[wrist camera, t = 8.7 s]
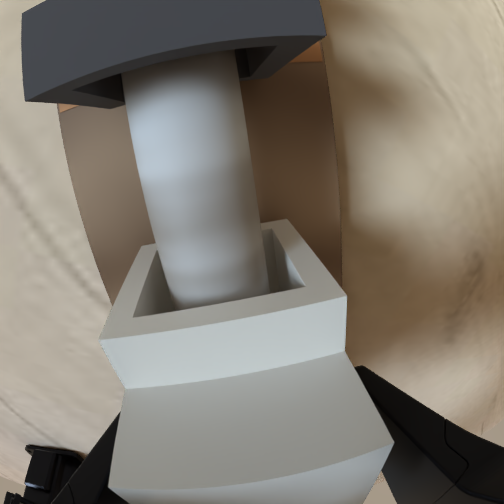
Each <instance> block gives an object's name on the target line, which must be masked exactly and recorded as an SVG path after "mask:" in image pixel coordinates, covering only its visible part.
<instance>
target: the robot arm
mask: <svg viewBox="0 0 504 504" xmlns="http://www.w3.org/2000/svg"><path fill="white" fill-rule="evenodd" d="M354 368H355V370H356V372H357V374H358V376H359V377H360V379H361V381H362V383H363V385H364V387H365V388H366V390H367V392H368V394H369V396H370V398H371V400H372V401H373V403H374V405H375V407H376V409H377V411H378V413H379V414H380V416H381V418H382V420H383V422H384V424H385V426H386V428H387V429H388V431H389V433H390V435H391V437H392V439H393V441H394V444H393V447H392V449H391V451H390V453H389V455H388V457H387V459H386V461H385V463H384V465H383V467H382V469H381V471H382V473H383V475H384V477H385V479H386V481H387V483H388V485H389V487H390V489H391V492H392V493H393V496H394V498H395V500H396V502H397V504H504V447H501V446H499V445H497V444H495V443H492V442H490V441H488V440H485V439H483V438H480V437H478V436H476V435H474V434H472V433H470V432H468V431H466V430H464V429H463V428H461V427H459V426H457V425H456V424H454V423H452V422H451V421H449V420H447V419H445V418H444V417H442V416H441V415H439V414H438V413H436V412H434V411H433V410H431V409H430V408H428V407H426V406H425V405H423V404H422V403H420V402H419V401H417V400H415V399H414V398H412V397H411V396H409V395H408V394H406V393H404V392H403V391H401V390H400V389H398V388H397V387H395V386H394V385H392V384H391V383H389V382H388V381H386V380H384V379H383V378H381V377H380V376H378V375H377V374H375V373H374V372H372V371H371V370H369V369H368V368H366V367H365V366H362V365H360V366H357V367H354ZM120 413H121V411H120ZM120 413H119V414H118V415H117V417H116V418H115V419H114V421H113V422H112V423H111V425H110V426H109V427H108V429H107V430H106V431H105V433H104V434H103V435H102V437H101V438H100V439H99V441H98V442H97V443H96V445H95V446H94V447H93V449H92V450H91V451H90V453H89V454H88V455H87V457H86V458H85V460H83V459H82V458H81V457H80V456H79V455H78V454H76V453H74V452H70V451H62V450H54V449H47V448H40V447H34V446H29V445H26V447H25V450H26V451H27V452H28V453H29V454H30V455H31V456H32V458H31V461H30V464H29V468H28V471H27V475H26V478H25V485H26V488H25V492H24V496H23V497H21V495H19V494H17V493H15V494H13V493H10V492H7V493H6V496H5V501H4V504H130V503H128V502H127V501H125V500H124V499H123V498H121V497H120V496H119V495H117V494H116V493H115V492H114V491H112V490H111V489H110V488H108V484H109V477H110V470H111V463H112V457H113V451H114V445H115V439H116V434H117V428H118V423H119V418H120Z"/></svg>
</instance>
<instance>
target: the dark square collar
mask: <svg viewBox="0 0 504 504" xmlns="http://www.w3.org/2000/svg"><path fill="white" fill-rule="evenodd" d="M325 36H327V35H326V30H325V25H324V20H323V15H322V11H321V6H320V2H319V0H46V1H44V2H42V3H40V4H38V5H36V6H35V7H33V8H31V9H29V10H27V11H26V12H24V13H22V31H21V47H22V72H23V86H24V96H25V101H26V102H44V103H58V104H70V105H80V106H89V107H97V108H105V109H113V108H116V107H120V106H123V105H126V103H125V97H124V90H123V83H122V76H121V73H123V72H126V71H129V70H133V69H137V68H140V67H144V66H148V65H152V64H156V63H160V62H164V61H169V60H173V59H178V58H183V57H188V56H193V55H199V54H205V53H211V52H218V51H225V50H233V49H235V50H234V51H235V57H236V63H237V70H238V76H239V81H246V80H255V79H264V78H269V77H270V76H272V75H273V74H274V73H276V72H277V71H278V70H280V69H281V68H282V67H283V66H285V65H286V64H287V63H289V62H290V61H291V60H293V59H294V58H295V57H297V56H298V55H300V54H301V53H302V52H304V51H305V50H307V49H308V48H309V47H311V46H312V45H314V44H315V43H317V42H318V41H319V40H321V39H322V38H324V37H325Z"/></svg>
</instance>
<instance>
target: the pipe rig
mask: <svg viewBox="0 0 504 504" xmlns="http://www.w3.org/2000/svg"><path fill="white" fill-rule="evenodd" d="M234 50H235V49H233V50H225V51H218V52H211V53H205V54H199V55H193V56H188V57H183V58H178V59H173V60H169V61H164V62H160V63H156V64H152V65H148V66H144V67H140V68H137V69H133V70H129V71H126V72H123V73H121V76H122V83H123V90H124V97H125V103H126V105H123V106H120V107H116V108H113V109H105V108H97V107H89V106H80V105H70V104H58V103H57V108H58V114H59V121H60V127H61V133H62V138H63V143H64V149H65V153H66V158H67V163H68V167H69V172H70V176H71V180H72V184H73V188H74V192H75V196H76V200H77V204H78V207H79V211H80V214H81V218H82V221H83V224H84V228H85V231H86V234H87V237H88V240H89V244H90V247H91V250H92V253H93V255H94V258H95V261H96V264H97V267H98V270H99V272H100V275H101V278H102V280H103V283H104V286H105V288H106V291H107V293H108V296H109V298H110V301H111V303H112V306H113V305H114V303H115V300H116V298H117V296H118V294H119V292H120V289H121V287H122V285H123V283H124V281H125V279H126V277H127V275H128V272H129V270H130V268H131V266H132V264H133V262H134V260H135V258H136V256H137V254H138V252H139V250H140V248H141V246H145V245H149V244H154V243H156V246H157V249H158V253H159V256H160V260H161V263H162V267H163V270H164V274H165V277H166V280H167V284H168V287H169V290H170V293H171V297H172V300H173V303H174V306H175V309H176V311H180V310H186V309H192V308H197V307H203V306H209V305H214V304H220V303H225V302H231V301H236V300H242V299H247V298H252V297H257V296H262V295H267V294H270V289H269V281H268V274H267V267H266V259H265V252H264V245H263V238H262V231H261V224H260V223H265V222H271V221H277V220H283V219H288V221H289V222H290V223H291V224H292V226H293V227H294V228H295V229H296V231H297V232H298V233H299V234H300V236H301V237H302V238H303V239H304V241H305V242H306V243H307V244H308V246H309V247H310V248H311V249H312V251H313V252H314V253H315V255H316V256H317V257H318V258H319V260H320V261H321V262H322V264H323V265H324V266H325V267H326V269H327V270H328V271H329V273H330V274H331V275H332V277H333V278H334V279H335V281H336V282H337V283H338V284H339V286H340V287H341V288H342V249H341V219H340V199H339V183H338V169H337V157H336V146H335V136H334V127H333V118H332V110H331V102H330V94H329V87H328V80H327V74H326V67H325V61H324V55H323V49H322V44H321V40H319V41H318V42H317V43H315V44H314V45H312V46H311V47H309V48H308V49H307V50H305V51H304V52H302V53H301V54H300V55H298V56H297V57H295V58H294V59H293V60H291V61H290V62H289V63H287V64H286V65H285V66H283V67H282V68H281V69H280V70H278V71H277V72H276V73H274V74H273V75H272V76H270V77H269V78H264V79H255V80H246V81H239V76H238V70H237V63H236V57H235V51H234Z"/></svg>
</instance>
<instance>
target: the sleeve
mask: <svg viewBox="0 0 504 504" xmlns="http://www.w3.org/2000/svg"><path fill="white" fill-rule="evenodd" d="M260 224H261V231H262V238H263V245H264V252H265V259H266V267H267V274H268V281H269V289H270V294H267V295H262V296H257V297H252V298H247V299H242V300H236V301H231V302H225V303H220V304H214V305H209V306H203V307H197V308H192V309H186V310H180V311H176V309H175V306H174V303H173V300H172V297H171V293H170V290H169V287H168V284H167V280H166V277H165V274H164V270H163V267H162V263H161V260H160V256H159V253H158V249H157V246H156V243H154V244H149V245H145V246H141V248H140V250H139V252H138V254H137V256H136V258H135V260H134V262H133V264H132V266H131V268H130V270H129V272H128V275H127V277H126V279H125V281H124V283H123V285H122V287H121V289H120V292H119V294H118V296H117V298H116V300H115V303H114V305H113V307H112V309H111V312H110V314H109V316H108V318H107V321H106V323H105V325H104V328H103V330H102V333H101V335H100V337H99V342H100V344H101V346H102V348H103V350H104V352H105V354H106V356H107V357H108V359H109V361H110V363H111V365H112V367H113V368H114V370H115V372H116V374H117V375H118V377H119V379H120V381H121V382H122V384H123V386H124V387H125V394H124V398H123V403H122V408H121V413H120V418H119V423H118V428H117V434H116V439H115V445H114V451H113V457H112V463H111V470H110V477H109V484H108V488H110V489H111V490H112V491H114V492H115V493H116V494H117V495H119V496H120V497H121V498H123V499H124V500H125V501H127V502H128V503H130V504H363V502H364V501H365V499H366V497H367V495H368V494H369V492H370V490H371V488H372V487H373V485H374V483H375V481H376V479H377V477H378V475H379V473H380V471H381V469H382V467H383V465H384V463H385V461H386V459H387V457H388V455H389V453H390V451H391V449H392V447H393V444H394V441H393V439H392V437H391V435H390V433H389V431H388V429H387V428H386V426H385V424H384V422H383V420H382V418H381V416H380V414H379V413H378V411H377V409H376V407H375V405H374V403H373V401H372V400H371V398H370V396H369V394H368V392H367V390H366V388H365V387H364V385H363V383H362V381H361V379H360V377H359V376H358V374H357V372H356V370H355V368H354V367H353V365H352V363H351V361H350V359H349V358H348V356H347V354H346V352H345V337H346V314H347V295H346V294H345V292H344V291H343V290H342V288H341V287H340V286H339V284H338V283H337V282H336V281H335V279H334V278H333V277H332V275H331V274H330V273H329V271H328V270H327V269H326V267H325V266H324V265H323V264H322V262H321V261H320V260H319V258H318V257H317V256H316V255H315V253H314V252H313V251H312V249H311V248H310V247H309V246H308V244H307V243H306V242H305V241H304V239H303V238H302V237H301V236H300V234H299V233H298V232H297V231H296V229H295V228H294V227H293V226H292V224H291V223H290V222H289V221H288V219H283V220H277V221H271V222H265V223H260Z"/></svg>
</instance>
